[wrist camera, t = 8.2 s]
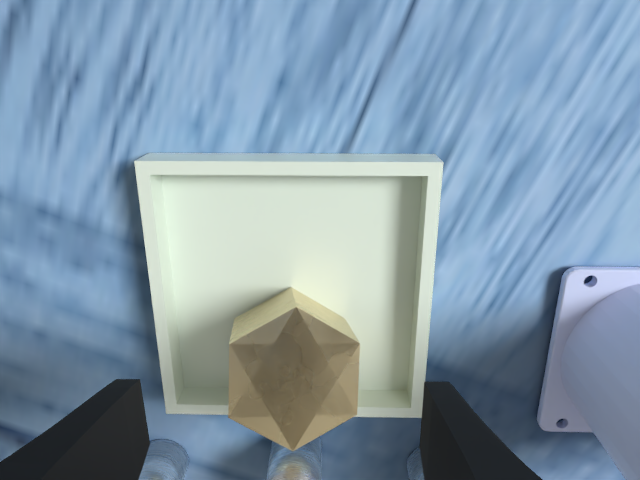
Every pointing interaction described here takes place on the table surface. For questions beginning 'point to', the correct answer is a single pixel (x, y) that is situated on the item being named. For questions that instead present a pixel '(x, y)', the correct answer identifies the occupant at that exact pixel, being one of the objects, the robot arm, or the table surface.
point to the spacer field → (283, 470)
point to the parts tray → (291, 261)
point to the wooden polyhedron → (292, 369)
